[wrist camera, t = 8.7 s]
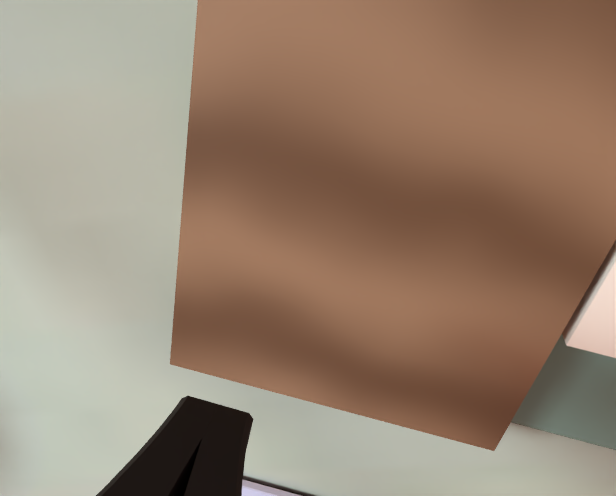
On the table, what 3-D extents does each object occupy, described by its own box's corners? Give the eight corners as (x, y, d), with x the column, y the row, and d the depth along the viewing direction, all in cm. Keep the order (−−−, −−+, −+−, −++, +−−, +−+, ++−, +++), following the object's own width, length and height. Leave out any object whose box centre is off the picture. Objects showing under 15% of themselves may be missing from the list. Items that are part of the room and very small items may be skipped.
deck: (488, 408, 21) (493, 450, 20) (189, 329, 22) (170, 363, 20) (735, -56, 13) (783, -51, 11) (237, -167, 13) (211, -178, 12)
